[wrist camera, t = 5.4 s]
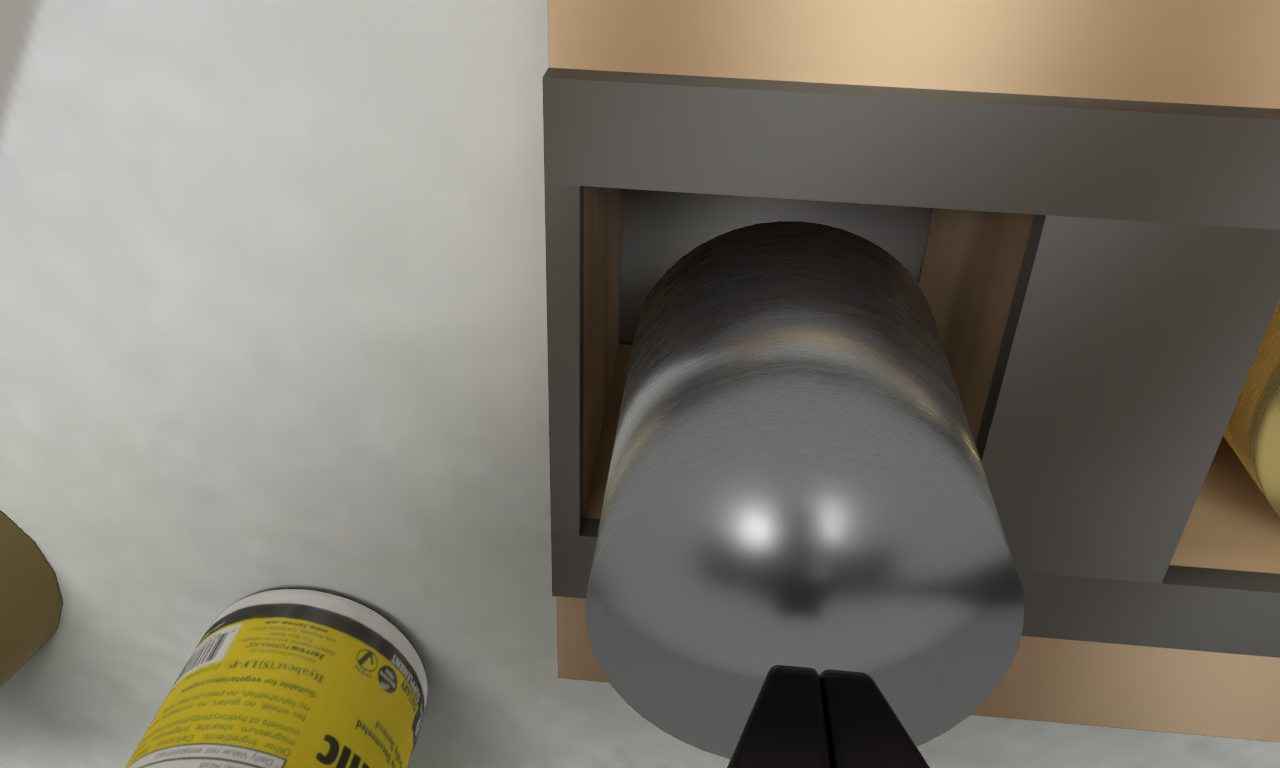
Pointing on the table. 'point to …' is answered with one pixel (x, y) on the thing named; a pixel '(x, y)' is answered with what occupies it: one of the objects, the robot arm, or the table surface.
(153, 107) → the table surface
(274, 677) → the supplement bottle
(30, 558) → the olive brown pepper mill
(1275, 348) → the brass plunger
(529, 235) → the table surface
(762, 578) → the steel plunger
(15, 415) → the table surface
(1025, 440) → the socket board
